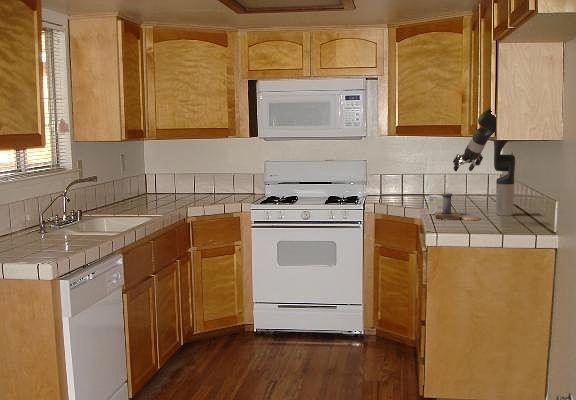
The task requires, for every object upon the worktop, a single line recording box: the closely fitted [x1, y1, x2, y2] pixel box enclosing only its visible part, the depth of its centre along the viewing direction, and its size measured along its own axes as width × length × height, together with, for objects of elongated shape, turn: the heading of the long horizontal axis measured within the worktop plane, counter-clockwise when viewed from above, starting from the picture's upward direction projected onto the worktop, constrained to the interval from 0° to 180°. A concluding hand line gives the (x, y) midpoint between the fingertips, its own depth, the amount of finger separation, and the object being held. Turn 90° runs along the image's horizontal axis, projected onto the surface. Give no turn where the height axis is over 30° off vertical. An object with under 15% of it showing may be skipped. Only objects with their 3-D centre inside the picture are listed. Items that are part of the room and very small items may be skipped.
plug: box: [441, 192, 453, 214], centre depth 340 cm, size 5×5×13 cm
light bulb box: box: [428, 194, 443, 215], centre depth 356 cm, size 11×7×11 cm, turn 59°
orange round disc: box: [461, 216, 480, 222], centre depth 335 cm, size 9×9×1 cm
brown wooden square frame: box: [434, 211, 460, 221], centre depth 340 cm, size 12×12×2 cm
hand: (462, 170), depth 324 cm, fingers open, 8 cm apart
